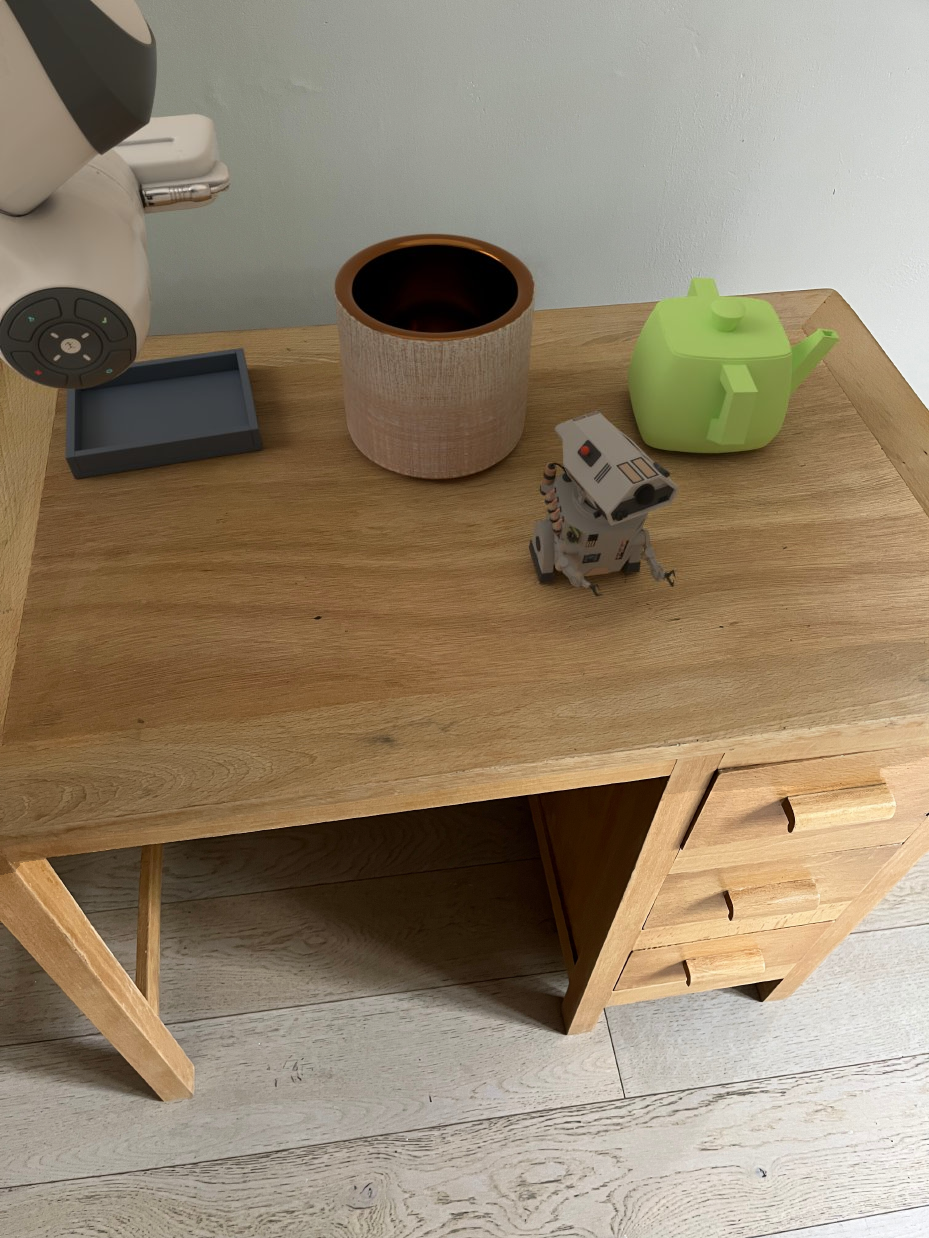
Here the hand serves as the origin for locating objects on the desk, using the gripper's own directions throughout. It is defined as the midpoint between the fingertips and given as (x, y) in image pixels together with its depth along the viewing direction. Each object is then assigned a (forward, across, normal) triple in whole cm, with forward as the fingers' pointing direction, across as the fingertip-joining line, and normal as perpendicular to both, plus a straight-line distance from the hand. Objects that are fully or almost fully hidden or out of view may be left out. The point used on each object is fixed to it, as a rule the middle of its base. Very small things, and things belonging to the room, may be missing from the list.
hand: (74, 123), depth 64 cm
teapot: (-13, -54, +28) cm, 62 cm away
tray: (0, 0, +28) cm, 28 cm away
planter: (-7, -26, +28) cm, 39 cm away
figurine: (-30, -34, +28) cm, 54 cm away
